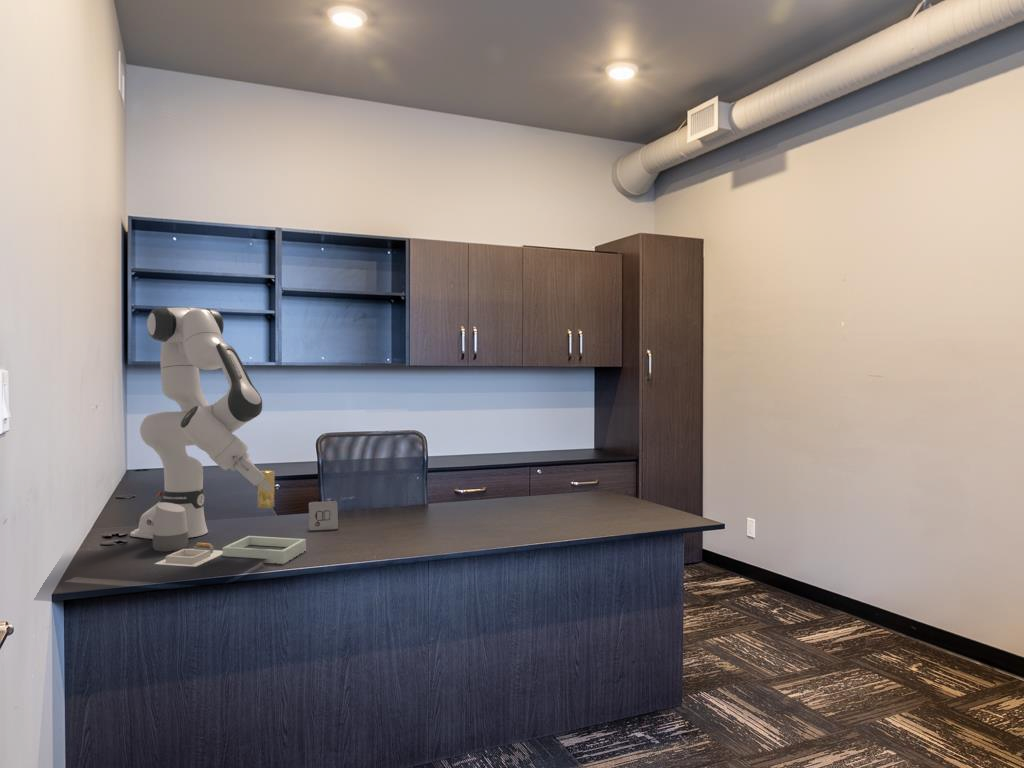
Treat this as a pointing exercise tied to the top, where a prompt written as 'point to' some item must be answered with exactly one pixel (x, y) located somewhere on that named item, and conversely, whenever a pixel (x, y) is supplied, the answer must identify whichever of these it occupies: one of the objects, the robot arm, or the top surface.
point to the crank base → (192, 556)
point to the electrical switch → (323, 515)
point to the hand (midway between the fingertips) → (268, 487)
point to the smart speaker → (170, 527)
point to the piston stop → (266, 496)
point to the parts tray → (269, 555)
